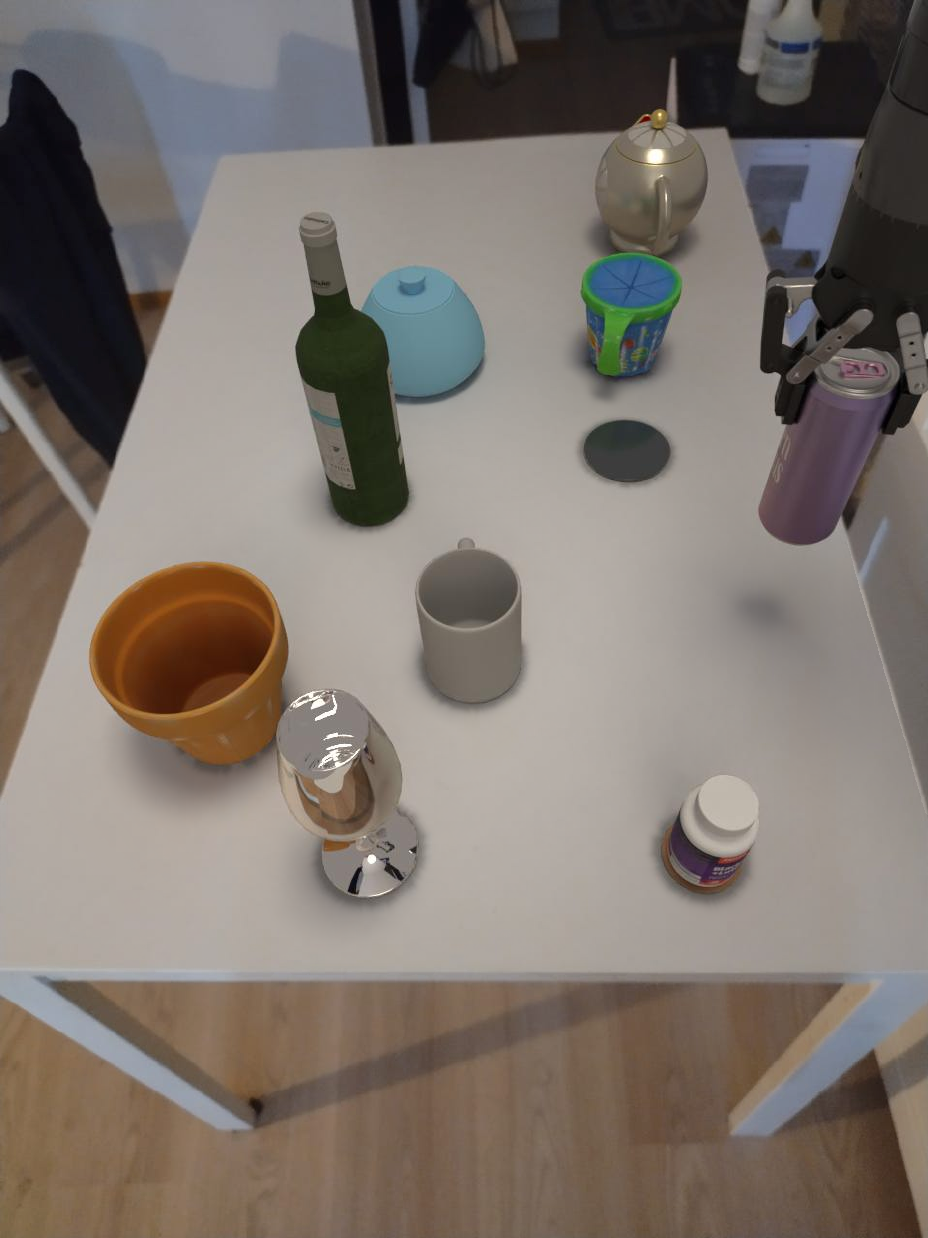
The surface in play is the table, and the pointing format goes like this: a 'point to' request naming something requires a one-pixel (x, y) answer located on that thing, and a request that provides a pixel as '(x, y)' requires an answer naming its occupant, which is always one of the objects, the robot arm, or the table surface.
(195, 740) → the flower pot
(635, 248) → the teapot
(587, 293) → the sippy cup
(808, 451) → the beverage can
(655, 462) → the slate coaster
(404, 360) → the sugar bowl
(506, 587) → the mug
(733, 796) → the pill bottle
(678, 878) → the cork coaster
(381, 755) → the wineglass
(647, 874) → the table surface
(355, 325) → the wine bottle
